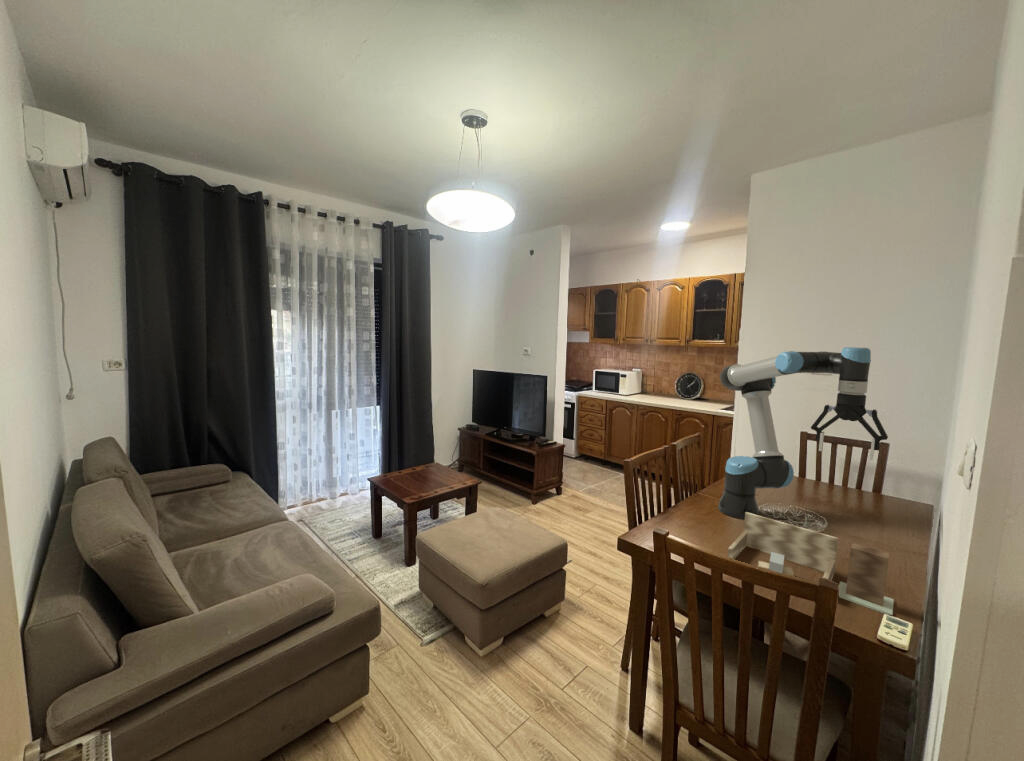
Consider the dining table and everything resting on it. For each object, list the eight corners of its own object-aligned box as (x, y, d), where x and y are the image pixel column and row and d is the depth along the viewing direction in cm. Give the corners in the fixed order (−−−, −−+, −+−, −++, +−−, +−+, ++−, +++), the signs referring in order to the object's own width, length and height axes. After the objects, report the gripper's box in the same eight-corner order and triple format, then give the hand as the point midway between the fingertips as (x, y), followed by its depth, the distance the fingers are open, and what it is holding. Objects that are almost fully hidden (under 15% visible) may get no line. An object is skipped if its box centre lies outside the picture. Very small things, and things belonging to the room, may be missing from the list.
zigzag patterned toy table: (726, 563, 135) (728, 529, 133) (743, 543, 148) (746, 511, 147) (824, 600, 116) (828, 560, 115) (834, 573, 130) (838, 537, 128)
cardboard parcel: (845, 593, 119) (850, 547, 117) (847, 587, 122) (852, 542, 120) (882, 606, 113) (888, 558, 112) (883, 600, 116) (889, 553, 115)
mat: (835, 596, 118) (836, 594, 118) (840, 583, 125) (840, 581, 125) (892, 616, 110) (892, 614, 110) (893, 601, 116) (893, 599, 116)
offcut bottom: (758, 575, 129) (759, 566, 129) (757, 569, 132) (758, 560, 132) (793, 583, 125) (793, 573, 125) (790, 577, 128) (791, 568, 128)
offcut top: (782, 574, 124) (783, 565, 124) (768, 570, 126) (769, 561, 126) (783, 564, 130) (784, 555, 130) (770, 560, 132) (771, 551, 132)
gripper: (804, 390, 144) (799, 449, 147) (902, 398, 127) (894, 465, 129) (808, 388, 149) (803, 445, 152) (903, 396, 132) (895, 460, 134)
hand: (845, 454), depth 140 cm, fingers open, 13 cm apart
